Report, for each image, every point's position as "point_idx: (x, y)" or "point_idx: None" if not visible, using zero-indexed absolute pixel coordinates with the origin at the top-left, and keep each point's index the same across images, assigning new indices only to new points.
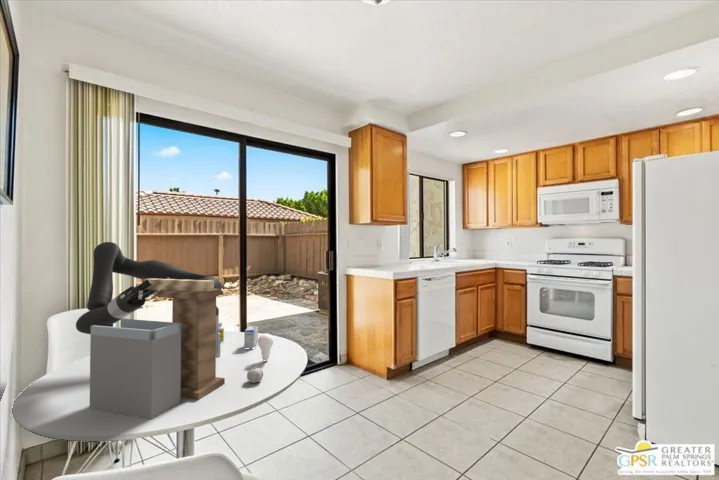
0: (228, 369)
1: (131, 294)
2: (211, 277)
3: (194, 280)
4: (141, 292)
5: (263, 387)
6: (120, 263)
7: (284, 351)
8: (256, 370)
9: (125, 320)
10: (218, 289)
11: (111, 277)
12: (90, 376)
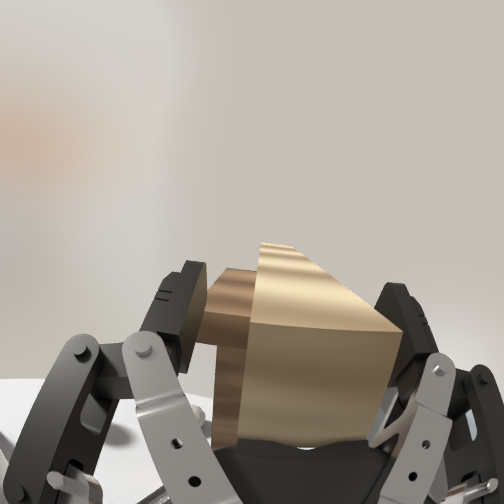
0: (120, 472)
1: (459, 421)
2: None
3: (281, 248)
4: (390, 423)
5: (212, 413)
6: None
7: (36, 393)
8: (196, 407)
9: (428, 494)
10: (237, 269)
11: None
12: None
